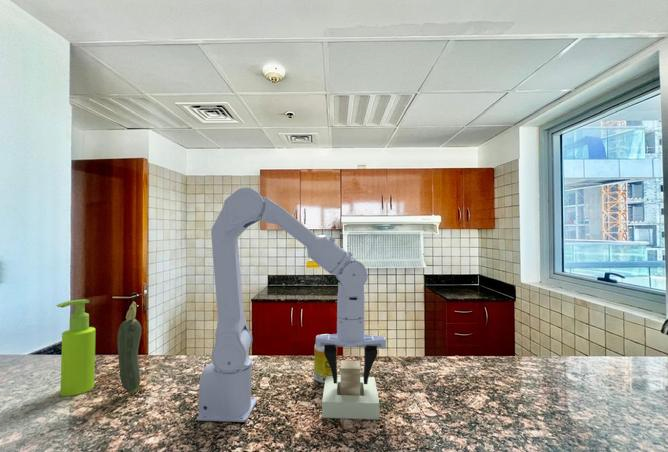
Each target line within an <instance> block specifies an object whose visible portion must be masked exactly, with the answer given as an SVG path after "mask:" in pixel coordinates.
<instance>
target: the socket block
mask: <svg viewBox="0 0 668 452" xmlns="http://www.w3.org/2000/svg"><path fill="white" fill-rule="evenodd" d="M340 385H341V375H337V384H335V383H334V382H333V376H326V379H325V383H324V386H323V394H322V400H321V418H325V419H350V420H352V419H354V420H357V419H358V420H380V419H381V417H380V415H381V414H380V411H381V410H380V409H381V407H380V404H381V403H380V400H379V398H380V397H379V394H378V390H377V388H378V387H377V383H376V379H375V377H374V376H369V377H368V384H364V376H360V396H353V395H340Z"/></svg>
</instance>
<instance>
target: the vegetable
mask: <svg viewBox="0 0 668 452" xmlns="http://www.w3.org/2000/svg"><path fill="white" fill-rule="evenodd" d="M136 315H137V303H136V302H135V301H134V300H133V301H132V303H131V304H130V306H129V308H128V310H127V312H126V316H125V319H126V320H124V321H123V322H122V323H121V324H120V325H119V328H118V331H117V341H116V342H117V346H116V347H117V352H118V353H117V355H118V357H117V358H118V369H119V371H118V372H119V379H120V382H121V385H122V389H124V390H125V391H126V392H127V393H129V394H132V393H137V392H138V390H139V389H140V383H141V376H140V375H141V374H140V365H139V348H140V347H139V346H140V342H141V337H142V325H141V323H140V321H139V320H137V319H136Z"/></svg>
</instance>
